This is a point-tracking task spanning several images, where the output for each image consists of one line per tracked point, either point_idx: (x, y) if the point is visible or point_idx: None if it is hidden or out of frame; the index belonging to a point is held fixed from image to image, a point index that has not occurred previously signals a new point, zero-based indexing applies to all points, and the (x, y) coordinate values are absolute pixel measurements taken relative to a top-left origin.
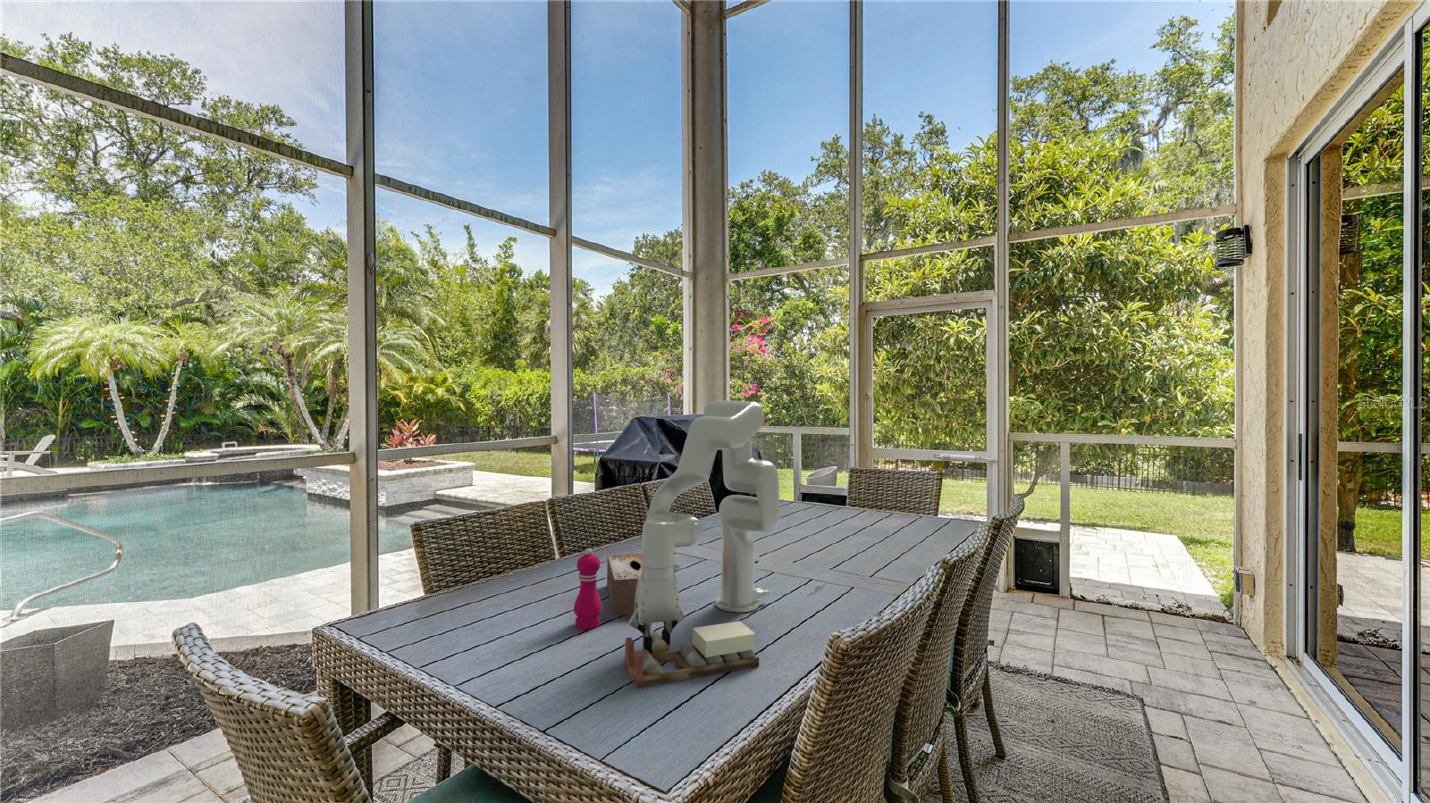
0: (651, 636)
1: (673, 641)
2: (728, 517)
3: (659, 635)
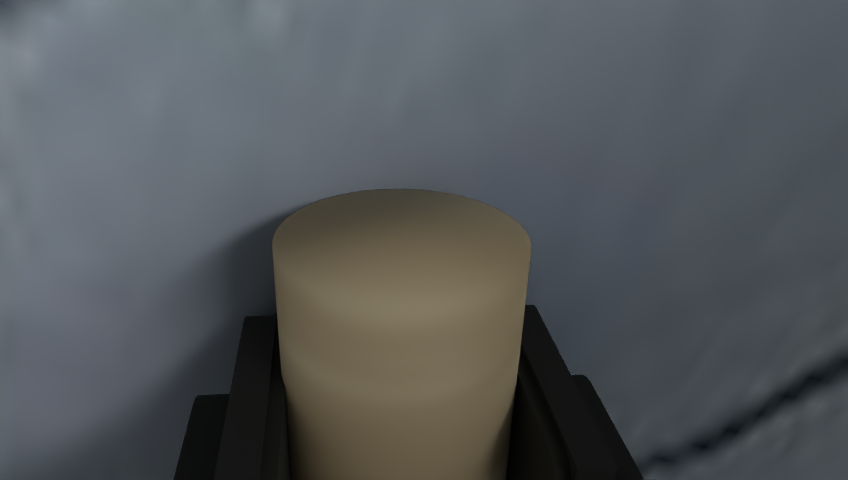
0: (339, 446)
1: (724, 160)
2: None
3: (491, 417)
